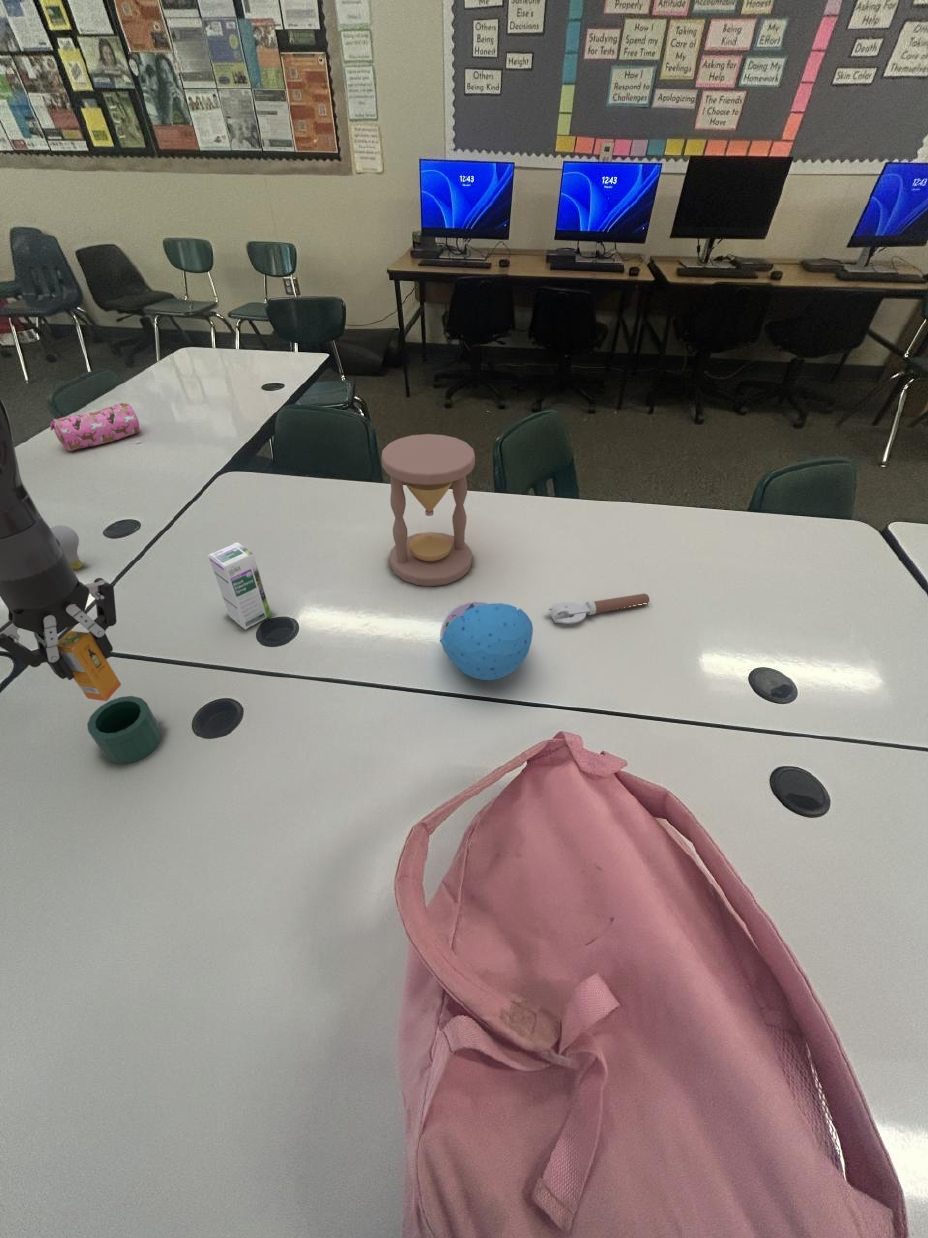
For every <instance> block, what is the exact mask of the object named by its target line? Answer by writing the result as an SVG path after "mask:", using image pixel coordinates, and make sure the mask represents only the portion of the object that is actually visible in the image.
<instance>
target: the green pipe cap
mask: <svg viewBox="0 0 928 1238" xmlns="http://www.w3.org/2000/svg"><path fill="white" fill-rule="evenodd" d="M87 732H88V733H89V735H90V737H91V738H92V739H93V741H94V743H95V744H96V745H97V747H98V748H99V750H100V751H101V753H102V754H103V756H104V757H105V758H106V759H107V760H108V761H109V762H111V763H114V764H116V765H126V764H131V763H136V762H138V761H140V760H142V759H145V758H146V757H147V756H149V755H150V754H151V753H153V752H154V750H155V749H156V748H157V747H158V746H159V744H160V743H161V739H162V731H161V727H160V724H159V723H158V721H157V719H156V718H155V715H154V714H153V712H152V710H151V708H150V706H149V705H148V702H147V701H146V700H145V699H143V698H142V697H139V696H134V695H129V696H128V695H127V696H120V697H117V698H113V699H111V700H108V701H106V703H104V704H102V705H101V706H99V707H98V708H97V709H96V710H94V712H93V713H92V714H91V715H90V717H89V719H88V721H87Z"/></svg>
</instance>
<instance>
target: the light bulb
mask: <svg viewBox="0 0 928 1238" xmlns="http://www.w3.org/2000/svg"><path fill="white" fill-rule="evenodd" d="M50 529H51V531H52V532H53V534H54V536H55V537H56V538H57V539H58V541H59V543H60V546H61V549H62V550H63V552H64V554H65V556H66V558H67V560H68V562H69V563H70V565H71V567H72V569H73V570H79V569H81V568H82V567H83V563H82V561H81V558H80V556H79V555H78V547H79V545H80V544H79V543H80V538H79V536H78V533H77V532H76V531H75V530H74V529H73V528H72V527H70V526H66V525H61V524H60V525H54V526H51V527H50Z"/></svg>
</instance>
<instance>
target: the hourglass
mask: <svg viewBox="0 0 928 1238" xmlns="http://www.w3.org/2000/svg"><path fill="white" fill-rule="evenodd" d="M475 465H476V456H475V450H474V448H473V447H471V445H469V443H467V442H466V441H464V440H462V439H459V438H457V437H453V436H448V435H444V434H433V433H432V434H431V433H425V434H412V435H408V436H404V437H400V438H397V439H395V440H393V441H392V442H389V443H388V444H387V445H386V446H385V447H384V448H383V449H382V451H381V467H382V468H383V470H384V471H385V472H386V474H387V475H388V476H389V477H390V499H389V501H390V502H389V503H390V507H391V511H392V513H393V516H394V521H393V526H392V537H393V541H394V546H393V547H392V549H391V550H390V555H389V566H390V568H391V569H392V572H393V573H394V575H395V576H397V577H398V578H400V579H401V580H402V581H404V582H406V583H409V584H412V585H416V586H423V587H437V586H445V585H449V584H451V583H454V582H456V581H459V580H460V579H461V578H463V577H464V576H465V575H466V574H468V573H469V570H470V569H471V566H472V563H473V556H472V550H471V548H470V547H469V546H468V544H467V543H466V542H465V538H466V537H465V536H466V535H465V534H466V533H465V532H466V526H467V518H468V517H467V513H466V509H465V506H464V505H465V502H466V498H467V495H468V484H467V483H468V482H467V475H469V474H470V473H472V470H473V469H474V468H475ZM404 483H405V486H406V488H407V489H408V490H409V492H410V493H411V494H412V495H413V496H414V497H415V499H416V500H417V501H418V503H419V504H420V505H421V506H422V507H423V508H424V509H425V511H424V513H425V516H427V517H431V516H433V515H434V509H435V507H437V505H439V502H440V501H441V500H442V499H443V497H444V496H445V495H446V493H448V491H449V489H450V488H451V486H452V497H453V500H454V503H455V506H454V510H453V513H452V516H451V517H452V522H451V523H452V527H453V535H451V534H449V533H444V532H432V531H429V532H427V531H426V532H419V533H414V534H412V535H409V536H408V534H409V533H408V528H407V524H406V521H405V518H404V516H405V515H404V514H405V511H406V506H407V500H406V499H407V498H406V494H405V490H404Z"/></svg>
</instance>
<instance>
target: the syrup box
mask: <svg viewBox="0 0 928 1238" xmlns="http://www.w3.org/2000/svg"><path fill="white" fill-rule="evenodd" d="M207 557H208V559H209V563H210V566H211V569H212V571H213V573H214V577H215V579H216V583H217V585H218V589H219V591H220V593H221V597H222V600H223V602H224V604H225V608H226V611H227V613H228V617H230V618H231V620H233V621H234V622H235V623H236V624H237V625H238V626H240V627H241V628H242V629H243V630H248V629H249V628H250V627H253V626H254V625H257V624H259V623H260V622H262V621H264V620H266V619H267V618H270V617H272V613H271V610H270V606H269V603H268V599H267V596H266V593H265V588H264V585H263V583H262V579H261V575H260V571H259V568H258V564H257V561H256V557H255V554H254V553H253V552H252V551H251V550H250V549H248V548H247V547H246V546H245V545H242V544H241V543H239V542H238V541H236V542H234V543H233V544H230V545H228V546H226V547H223V548H220V549H219V550H216V551H213V552H211V553H209V554H208V555H207Z"/></svg>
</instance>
